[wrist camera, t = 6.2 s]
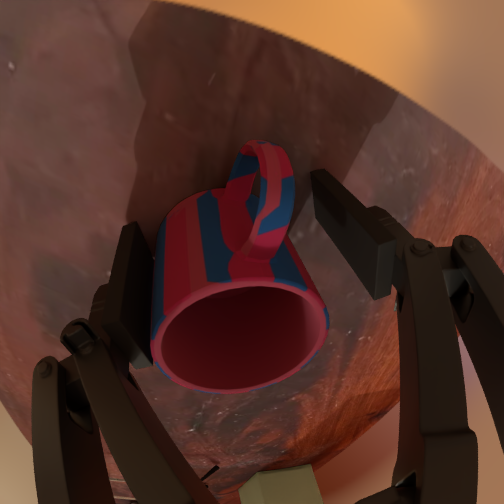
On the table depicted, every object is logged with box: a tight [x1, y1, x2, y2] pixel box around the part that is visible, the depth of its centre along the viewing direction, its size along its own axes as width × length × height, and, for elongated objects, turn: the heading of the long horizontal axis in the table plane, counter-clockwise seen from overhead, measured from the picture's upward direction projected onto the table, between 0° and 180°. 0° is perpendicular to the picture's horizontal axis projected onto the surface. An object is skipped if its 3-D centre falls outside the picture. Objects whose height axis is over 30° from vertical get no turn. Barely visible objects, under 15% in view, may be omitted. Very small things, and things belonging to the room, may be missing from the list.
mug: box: [150, 140, 329, 394], centre depth 13 cm, size 7×10×7 cm
